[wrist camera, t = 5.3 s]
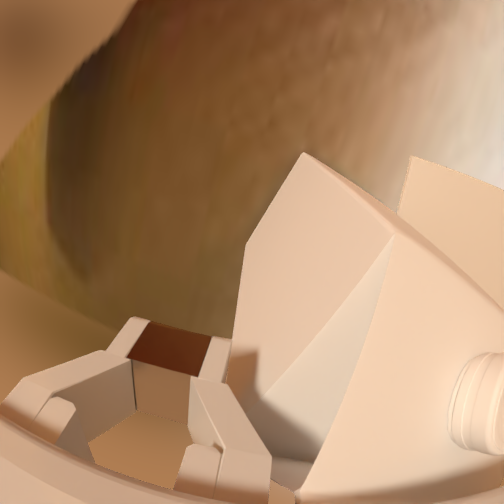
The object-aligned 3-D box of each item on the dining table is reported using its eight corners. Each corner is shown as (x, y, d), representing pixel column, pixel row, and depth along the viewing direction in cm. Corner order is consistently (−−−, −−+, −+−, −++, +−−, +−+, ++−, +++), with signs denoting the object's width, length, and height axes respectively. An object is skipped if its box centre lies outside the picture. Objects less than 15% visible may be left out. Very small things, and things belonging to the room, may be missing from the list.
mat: (543, 209, 18) (546, 210, 18) (489, 342, 23) (491, 344, 23) (410, 155, 19) (412, 155, 18) (358, 324, 24) (359, 327, 23)
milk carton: (332, 291, 23) (409, 569, 5) (245, 243, 22) (198, 573, 4) (390, 209, 20) (604, 435, 3) (302, 150, 19) (547, 389, 2)
